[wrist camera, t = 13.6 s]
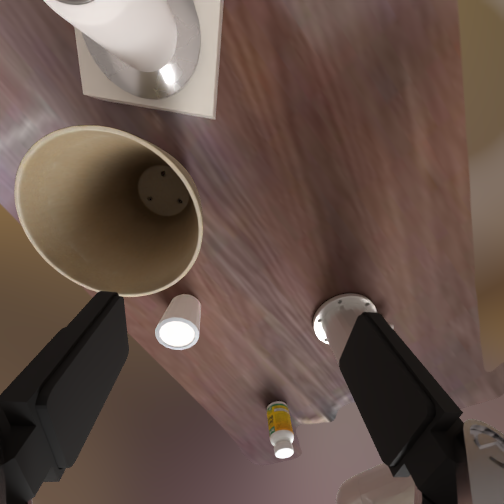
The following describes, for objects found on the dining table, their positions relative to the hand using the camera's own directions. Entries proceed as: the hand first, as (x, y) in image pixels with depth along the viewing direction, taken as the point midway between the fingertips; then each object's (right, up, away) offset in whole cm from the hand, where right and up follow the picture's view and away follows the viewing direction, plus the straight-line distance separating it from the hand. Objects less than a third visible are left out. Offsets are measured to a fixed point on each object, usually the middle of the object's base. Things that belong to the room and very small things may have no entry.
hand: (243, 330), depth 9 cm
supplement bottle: (+7, -35, +49) cm, 61 cm away
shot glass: (-12, -7, +34) cm, 37 cm away
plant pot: (-12, +12, +25) cm, 30 cm away
